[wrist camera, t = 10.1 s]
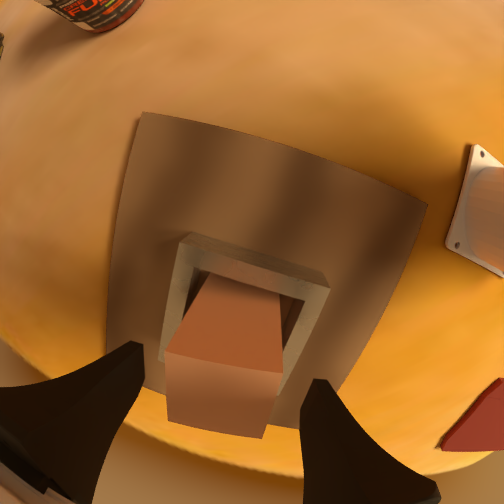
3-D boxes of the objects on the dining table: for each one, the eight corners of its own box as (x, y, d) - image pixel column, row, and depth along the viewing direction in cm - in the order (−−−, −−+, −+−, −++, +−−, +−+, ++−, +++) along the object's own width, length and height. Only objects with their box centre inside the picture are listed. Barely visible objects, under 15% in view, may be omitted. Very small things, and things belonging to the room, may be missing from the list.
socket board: (420, 202, 15) (450, 210, 12) (308, 422, 21) (311, 452, 17) (149, 114, 15) (122, 103, 11) (111, 364, 20) (93, 388, 17)
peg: (278, 282, 16) (283, 373, 8) (266, 339, 17) (261, 438, 10) (211, 271, 16) (164, 351, 8) (205, 328, 17) (168, 420, 10)
